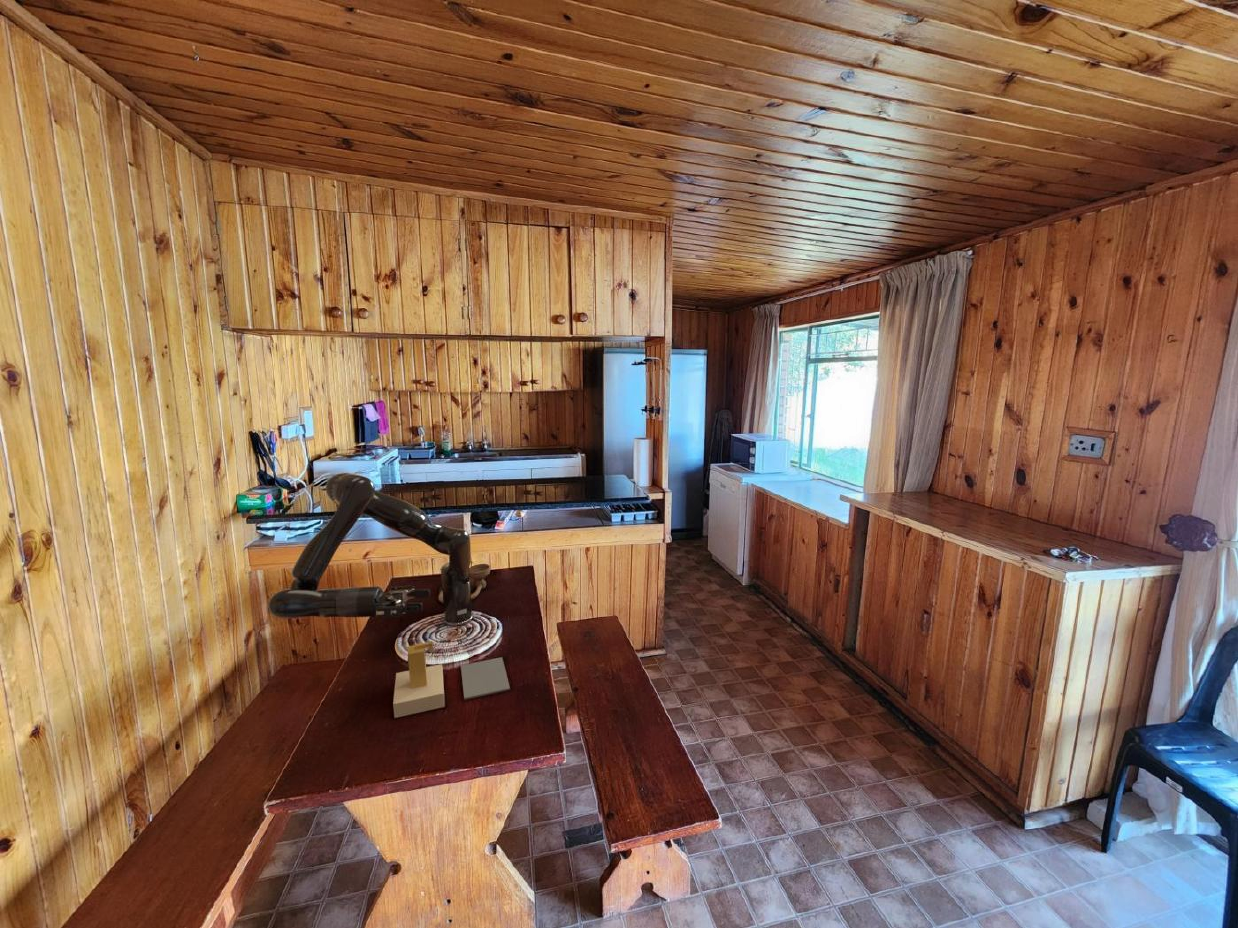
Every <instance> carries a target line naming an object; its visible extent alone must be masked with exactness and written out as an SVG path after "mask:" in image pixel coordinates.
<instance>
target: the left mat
mask: <svg viewBox="0 0 1238 928" xmlns="http://www.w3.org/2000/svg"><path fill="white" fill-rule="evenodd" d="M460 673H461V683H462V689H463V690H462V691H463V700H464V701H466V700H470V699H475V698H479V697H484V696H489V695H494V694H499V693H503V692H507V691H510V690H511V687H510V683H509V679H508V676H507V675H508V674H507V671H506V667H505V662H504V659H503V657H496V658H492V659H486V660H481V661H477V662H470V663H466V664H461V665H460Z"/></svg>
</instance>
